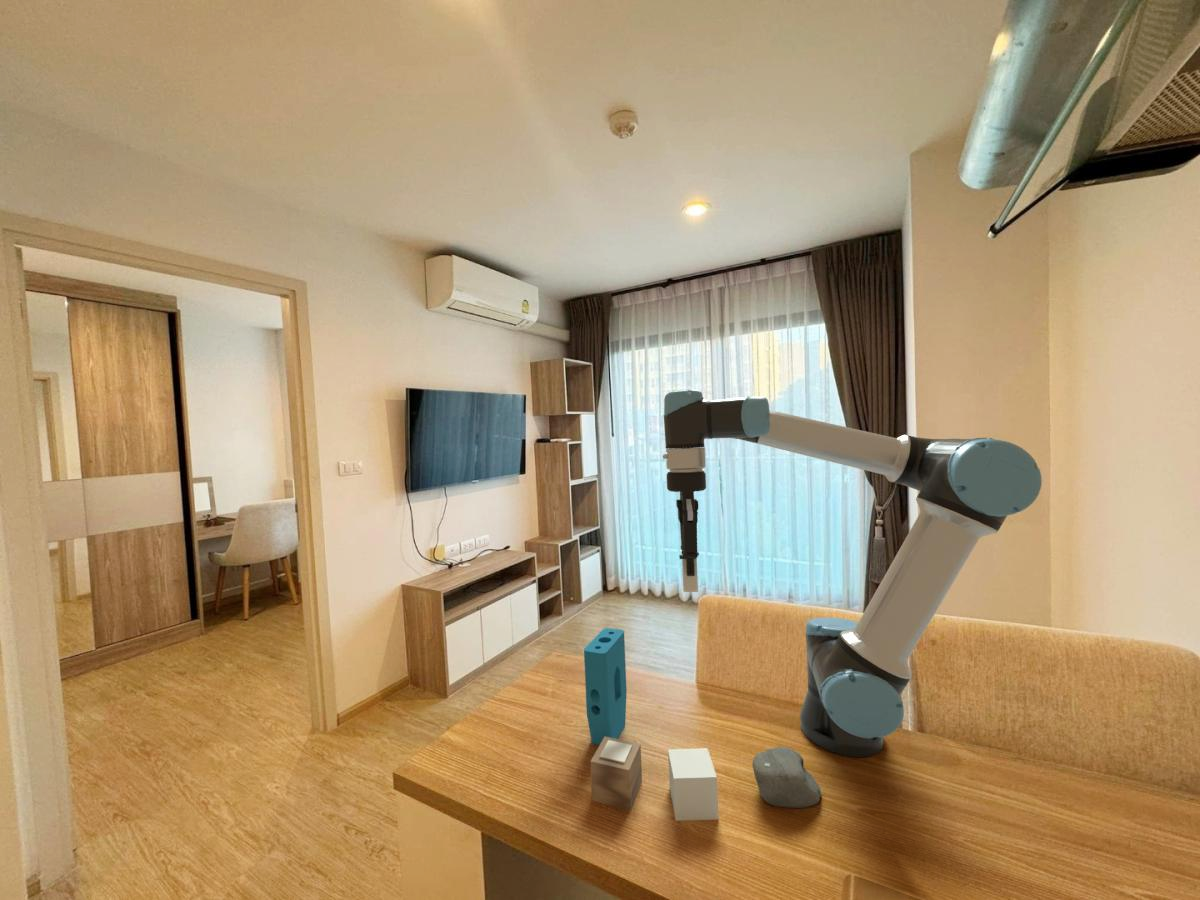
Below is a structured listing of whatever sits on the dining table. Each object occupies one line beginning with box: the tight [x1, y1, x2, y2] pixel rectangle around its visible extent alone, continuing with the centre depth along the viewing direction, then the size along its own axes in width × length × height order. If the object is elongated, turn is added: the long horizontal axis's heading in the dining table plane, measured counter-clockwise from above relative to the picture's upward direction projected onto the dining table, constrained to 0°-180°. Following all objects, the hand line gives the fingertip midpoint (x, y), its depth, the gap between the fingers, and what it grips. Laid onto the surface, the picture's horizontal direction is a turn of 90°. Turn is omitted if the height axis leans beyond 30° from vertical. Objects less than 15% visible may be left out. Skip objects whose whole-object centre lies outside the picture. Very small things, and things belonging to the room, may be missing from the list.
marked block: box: [590, 737, 643, 812], centre depth 80 cm, size 7×7×7 cm
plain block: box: [667, 747, 720, 822], centre depth 77 cm, size 7×7×7 cm
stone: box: [752, 746, 823, 809], centre depth 78 cm, size 9×9×10 cm
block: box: [583, 627, 628, 746], centre depth 96 cm, size 12×5×20 cm, turn 157°
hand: (690, 590), depth 88 cm, fingers closed
